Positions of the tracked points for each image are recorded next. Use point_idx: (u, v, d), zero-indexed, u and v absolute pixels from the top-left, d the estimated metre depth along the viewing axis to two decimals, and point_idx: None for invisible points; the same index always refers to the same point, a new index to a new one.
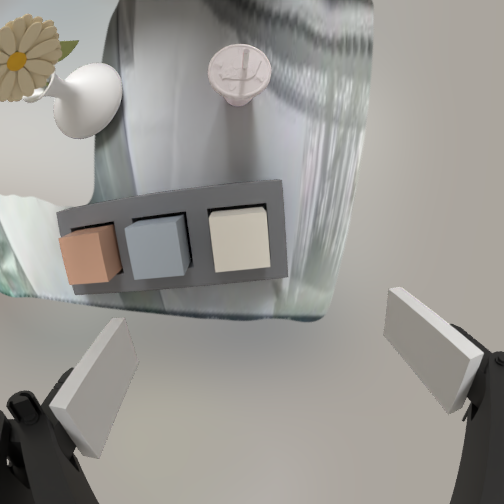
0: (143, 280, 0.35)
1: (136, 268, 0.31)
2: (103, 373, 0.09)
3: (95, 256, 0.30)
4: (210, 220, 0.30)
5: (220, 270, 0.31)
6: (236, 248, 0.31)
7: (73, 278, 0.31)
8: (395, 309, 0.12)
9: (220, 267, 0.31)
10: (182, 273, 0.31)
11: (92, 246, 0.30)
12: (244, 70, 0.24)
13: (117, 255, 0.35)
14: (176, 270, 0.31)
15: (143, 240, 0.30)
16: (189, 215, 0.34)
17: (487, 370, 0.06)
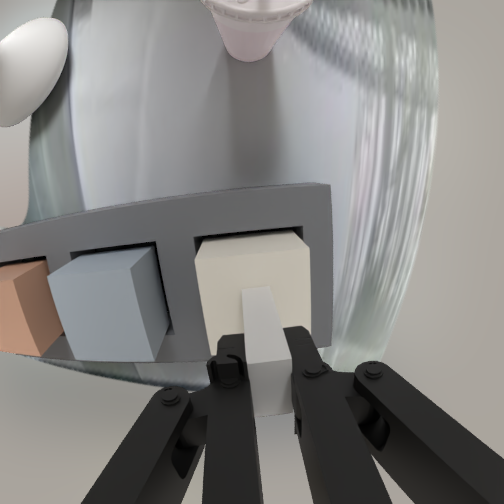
0: None
1: (75, 343, 0.15)
2: None
3: (16, 316, 0.15)
4: (198, 264, 0.15)
5: None
6: None
7: None
8: None
9: None
10: (151, 358, 0.16)
11: (10, 301, 0.14)
12: None
13: None
14: (140, 354, 0.16)
15: (78, 298, 0.15)
16: (162, 248, 0.18)
17: (296, 386, 0.08)
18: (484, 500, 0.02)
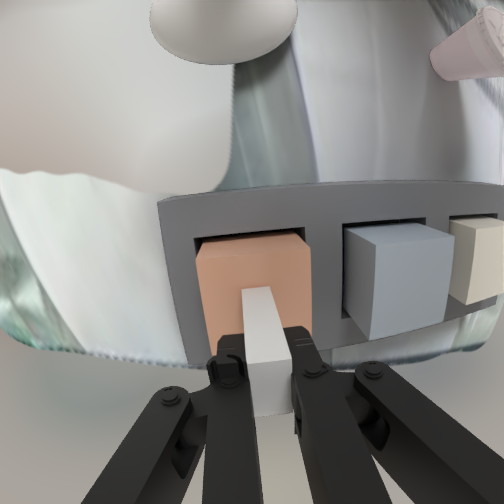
0: (340, 332, 0.20)
1: (379, 320, 0.16)
2: None
3: (294, 297, 0.16)
4: (477, 232, 0.16)
5: (470, 301, 0.17)
6: (490, 270, 0.17)
7: None
8: None
9: (471, 297, 0.17)
10: (441, 319, 0.16)
11: (291, 278, 0.15)
12: None
13: None
14: (436, 316, 0.16)
15: (405, 267, 0.15)
16: (429, 224, 0.18)
17: (296, 386, 0.08)
18: (484, 500, 0.02)
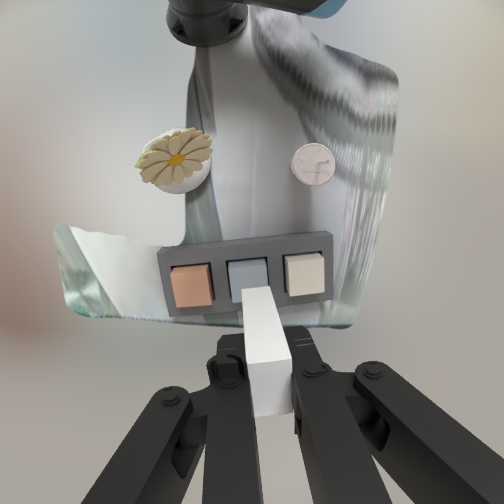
0: (231, 304, 0.50)
1: (235, 295, 0.47)
2: None
3: (203, 287, 0.46)
4: (289, 263, 0.46)
5: (293, 295, 0.48)
6: (304, 280, 0.47)
7: (181, 303, 0.47)
8: None
9: (293, 293, 0.48)
10: None
11: (201, 280, 0.46)
12: (318, 165, 0.39)
13: (211, 284, 0.51)
14: None
15: (242, 276, 0.46)
16: (269, 259, 0.49)
17: (296, 386, 0.08)
18: (484, 500, 0.02)
